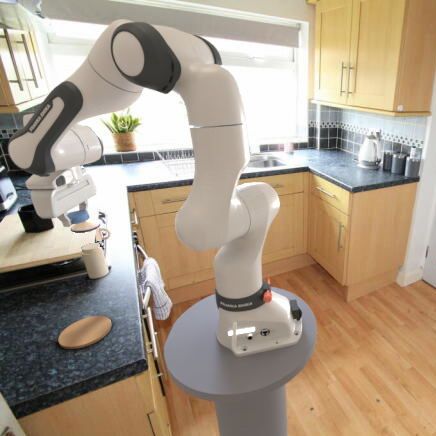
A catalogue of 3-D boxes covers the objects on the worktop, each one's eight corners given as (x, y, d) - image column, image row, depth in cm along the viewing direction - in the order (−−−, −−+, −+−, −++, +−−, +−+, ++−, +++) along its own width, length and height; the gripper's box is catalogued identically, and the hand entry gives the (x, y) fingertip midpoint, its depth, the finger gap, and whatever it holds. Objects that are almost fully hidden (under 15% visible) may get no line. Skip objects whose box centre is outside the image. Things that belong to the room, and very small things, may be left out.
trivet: (119, 316, 87) (118, 314, 87) (97, 347, 77) (97, 345, 77) (76, 319, 86) (75, 316, 86) (48, 350, 76) (47, 348, 76)
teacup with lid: (72, 253, 117) (63, 225, 113) (83, 242, 125) (74, 215, 121) (109, 250, 120) (101, 222, 116) (117, 239, 128) (110, 212, 124)
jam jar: (112, 268, 109) (104, 241, 105) (103, 278, 104) (95, 250, 99) (94, 269, 108) (86, 242, 104) (85, 279, 103) (75, 250, 99)
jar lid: (58, 222, 90) (56, 217, 89) (81, 214, 95) (79, 209, 94) (72, 226, 87) (69, 220, 87) (94, 217, 92) (92, 212, 92)
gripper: (72, 164, 95) (85, 207, 100) (19, 185, 76) (39, 236, 81) (95, 164, 95) (107, 207, 101) (48, 184, 77) (66, 235, 82)
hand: (76, 220), depth 91 cm, fingers closed on jar lid, 6 cm apart
